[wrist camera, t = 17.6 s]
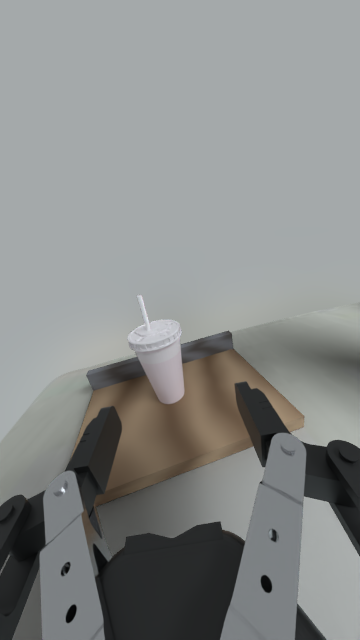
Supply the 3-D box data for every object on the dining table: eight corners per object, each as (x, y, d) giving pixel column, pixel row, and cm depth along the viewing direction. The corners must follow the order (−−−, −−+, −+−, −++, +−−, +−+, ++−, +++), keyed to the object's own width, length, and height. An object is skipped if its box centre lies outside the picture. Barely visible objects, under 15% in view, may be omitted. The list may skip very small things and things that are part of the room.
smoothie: (154, 379, 28) (127, 292, 23) (194, 375, 27) (175, 283, 22) (142, 414, 22) (102, 308, 17) (194, 411, 21) (167, 297, 16)
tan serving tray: (230, 351, 34) (227, 330, 32) (303, 426, 19) (305, 393, 17) (98, 391, 31) (88, 369, 29) (60, 520, 16) (35, 489, 14)
